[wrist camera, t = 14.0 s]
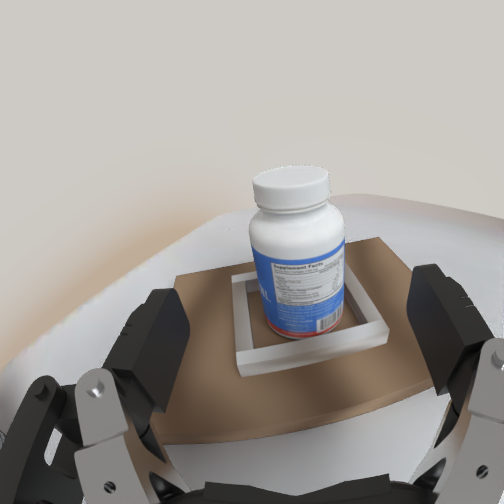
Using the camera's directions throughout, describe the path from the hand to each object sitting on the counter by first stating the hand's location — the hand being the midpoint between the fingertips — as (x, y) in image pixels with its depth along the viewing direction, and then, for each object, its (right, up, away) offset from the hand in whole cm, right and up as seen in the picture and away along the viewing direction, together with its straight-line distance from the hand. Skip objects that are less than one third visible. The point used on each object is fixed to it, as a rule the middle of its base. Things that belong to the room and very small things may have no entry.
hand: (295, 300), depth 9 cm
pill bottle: (+2, -3, +10) cm, 11 cm away
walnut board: (+2, -4, +11) cm, 12 cm away
